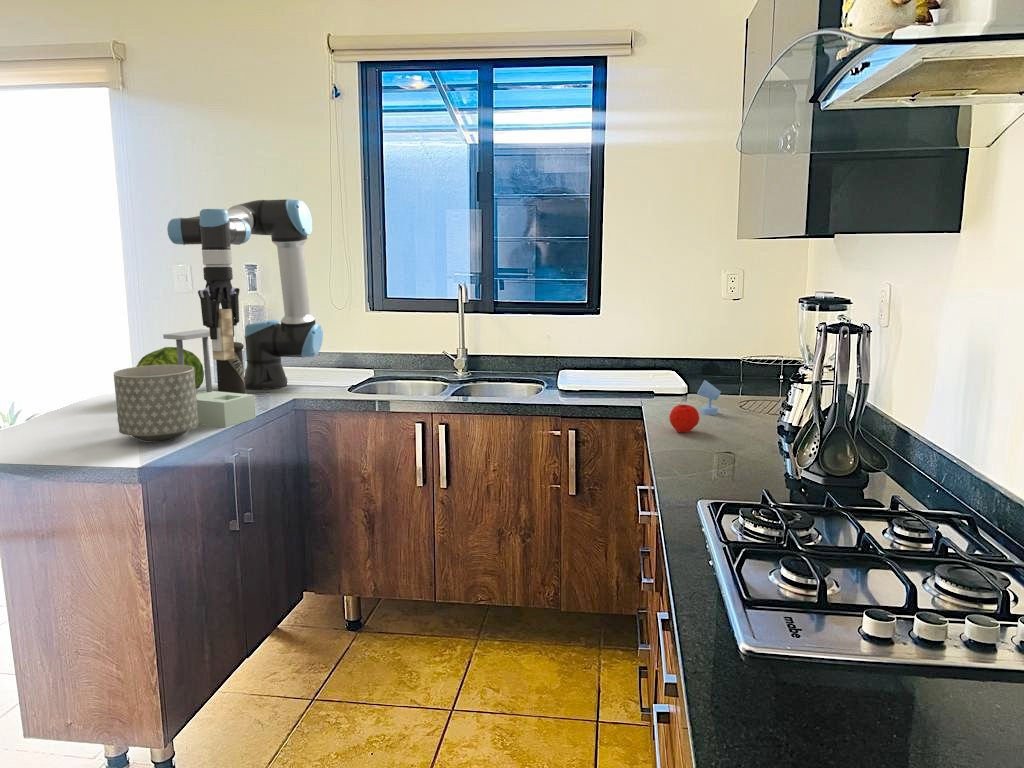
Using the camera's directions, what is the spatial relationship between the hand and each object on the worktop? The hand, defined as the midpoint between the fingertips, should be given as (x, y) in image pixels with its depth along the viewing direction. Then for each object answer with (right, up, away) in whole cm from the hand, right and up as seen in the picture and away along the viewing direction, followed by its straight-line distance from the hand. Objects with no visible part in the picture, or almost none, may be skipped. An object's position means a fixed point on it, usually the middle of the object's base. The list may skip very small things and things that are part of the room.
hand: (223, 349), depth 220 cm
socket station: (-4, -20, +6) cm, 21 cm away
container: (-7, -17, +26) cm, 32 cm away
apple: (+128, -23, -11) cm, 130 cm away
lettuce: (-30, -15, +33) cm, 47 cm away
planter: (-11, -24, -15) cm, 30 cm away
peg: (0, -3, 0) cm, 3 cm away
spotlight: (+139, -19, +11) cm, 141 cm away
